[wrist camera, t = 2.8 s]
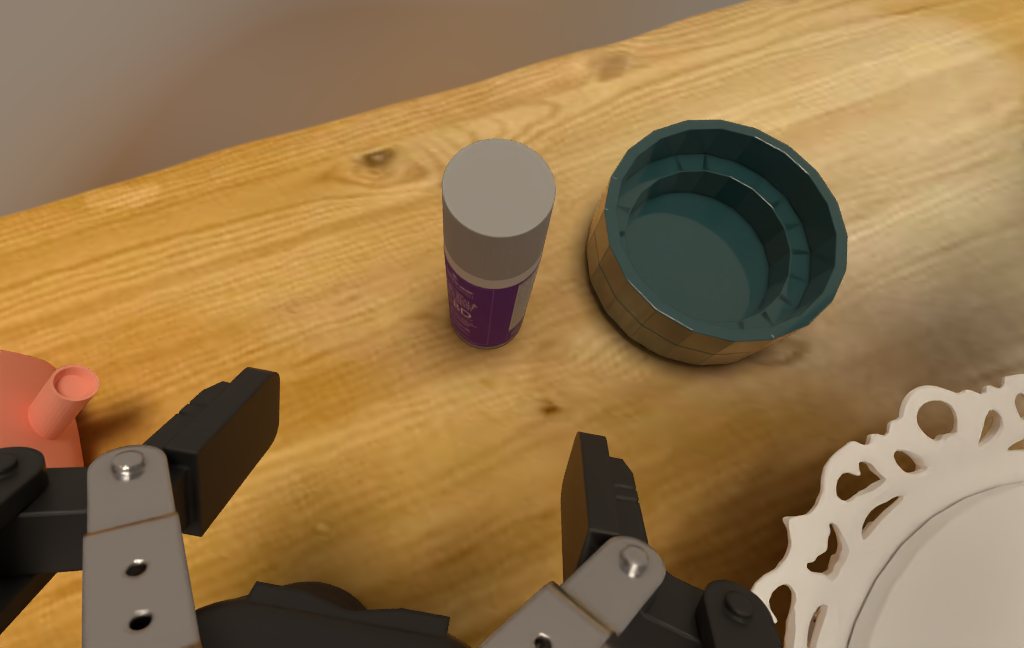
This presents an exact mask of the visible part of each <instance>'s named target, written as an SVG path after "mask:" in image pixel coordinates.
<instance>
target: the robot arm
mask: <svg viewBox="0 0 1024 648" xmlns="http://www.w3.org/2000/svg"><path fill="white" fill-rule="evenodd" d="M279 400H280V377H279V374H278V373H277V372H272V371H267V370H262V369H256V368H251V367H247V368H245V369H244V370H243V371H242V372H241V373H240V374H239V375H238V376H237V377H236V378H235V379H234V380H233V381H232V382H231V383H228V382H223V381H222V382H220V383H218V384H216V385H213V386H211V387H209V388H207V389H204V390H203V391H202V392H200V393H199V394H198V395H197V396H196V397H195V398H194V399H193V400H191V401H190V404H187V405H186V406H185V407H184V408H183V409H181V410H180V412H179V414H176V415H175V416H174V417H172V418H171V419H170V420H169V421H168V422H167V423H166V424H165V425H164V426H162V427H161V428H160V429H159V430H158V431H157V432H156V433H155V434H153V435H152V436H151V437H150V438H149V439H148V440H147V441H146V442H144V443H143V444H142V445H130V446H124V447H120V448H116V449H113V450H111V451H108V452H106V453H104V454H102V455H101V456H99V457H98V458H96V459H95V460H94V461H93V462H92V463H91V465H90V466H88V467H63V468H47V467H46V462H45V458H44V455H43V454H42V453H41V452H40V451H38V450H36V449H33V448H29V447H5V448H0V634H1V633H2V632H3V631H4V630H5V629H6V628H7V627H8V626H9V625H10V623H11V622H12V621H13V620H14V619H15V618H16V617H17V616H18V615H19V614H20V613H21V611H22V610H23V609H24V608H25V607H26V606H27V605H28V604H29V603H30V602H31V600H32V599H33V598H34V597H35V596H36V595H37V594H38V593H39V592H40V591H41V589H42V588H43V587H44V586H45V585H46V584H47V583H48V582H49V581H50V580H51V579H52V577H53V576H54V575H55V574H56V573H57V572H67V571H79V570H83V582H82V648H471V647H470V646H468V645H467V644H466V643H464V642H463V641H461V640H460V639H458V638H456V637H454V636H452V635H450V634H448V633H447V631H448V626H449V620H450V617H447V616H442V615H436V614H431V613H425V612H420V611H415V610H409V609H404V608H399V609H378V610H358V611H351V610H347V609H344V608H342V607H340V606H338V605H335V604H333V603H331V602H329V601H327V600H325V599H322V598H320V597H318V596H316V595H314V594H312V593H309V592H307V591H305V590H301V589H295V588H290V587H285V586H279V585H274V584H268V583H263V582H258V581H256V583H255V585H254V586H253V588H252V590H251V591H250V593H249V595H248V597H243V598H235V599H229V600H224V601H220V602H216V603H213V604H210V605H207V606H204V607H202V608H199V609H197V610H195V607H194V601H193V595H192V589H191V583H190V578H189V572H188V566H187V560H186V555H185V549H184V543H183V537H182V533H183V534H188V535H194V536H199V537H202V535H203V534H204V533H205V532H206V530H207V529H208V528H209V526H210V525H211V524H212V522H213V521H214V520H215V518H216V517H217V516H218V514H219V513H220V512H221V511H222V509H223V508H224V507H225V505H226V504H227V503H228V501H229V500H230V499H231V497H232V496H233V495H234V493H235V492H236V491H237V489H238V488H239V487H240V486H241V484H242V483H243V482H244V480H245V479H246V478H247V476H248V475H249V474H250V472H251V471H252V470H253V468H254V467H255V466H256V464H257V463H258V462H259V461H260V459H261V458H262V457H263V455H264V454H265V453H266V451H267V450H268V449H269V447H270V446H271V445H272V443H273V441H274V439H275V437H276V434H277V430H278V426H279ZM638 500H639V499H638V495H637V491H636V486H635V481H634V477H633V473H632V472H631V470H630V469H629V468H628V466H627V465H626V464H625V462H624V461H623V460H622V459H619V458H613V457H609V452H608V446H607V440H606V437H604V436H599V435H594V434H589V433H583V432H578V433H577V434H576V437H575V440H574V444H573V447H572V451H571V454H570V458H569V461H568V465H567V468H566V472H565V475H564V479H563V484H562V491H561V524H562V555H563V584H561V585H560V586H559V585H558V584H556V583H555V582H554V581H551V582H549V583H547V584H546V585H544V586H543V587H542V588H541V589H540V590H539V591H538V592H537V593H536V594H534V595H533V596H532V597H531V598H530V599H529V600H528V601H527V602H526V603H525V604H524V605H523V606H521V607H520V608H519V609H518V610H517V611H516V612H515V613H514V614H513V615H512V616H511V617H510V618H508V619H507V620H506V621H505V622H504V623H503V624H502V625H501V626H500V627H499V628H498V629H497V630H495V631H494V632H493V633H492V634H491V635H490V636H489V637H488V638H487V639H486V640H485V641H484V642H482V643H481V644H480V645H479V646H478V647H477V648H783V646H782V643H781V641H780V638H779V635H778V632H777V629H776V627H775V624H774V621H773V618H772V616H771V613H770V611H769V610H768V608H767V606H766V605H765V604H764V602H763V601H762V600H761V599H760V598H759V597H758V596H757V595H756V594H754V593H753V592H752V591H750V590H749V589H747V588H746V587H744V586H742V585H740V584H738V583H735V582H732V581H728V580H715V581H713V582H711V583H709V584H708V585H707V586H706V588H705V590H704V591H703V590H701V589H699V588H697V587H694V586H692V585H690V584H688V583H686V582H684V581H681V580H679V579H678V578H676V577H674V576H672V575H671V574H669V573H668V572H667V571H666V569H665V564H664V562H663V560H662V558H661V557H660V555H659V554H658V553H657V552H656V551H655V550H654V549H653V548H652V547H651V546H650V545H648V541H647V536H646V531H645V527H644V522H643V518H642V513H641V509H640V504H639V503H638Z"/></svg>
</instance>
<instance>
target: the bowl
mask: <svg viewBox="0 0 1024 648" xmlns="http://www.w3.org/2000/svg"><path fill="white" fill-rule="evenodd" d="M847 238H848V236H847V232H846V229H845V225H844V222H843V219H842V215H841V212H840V209H839V205H838V202H837V201H836V199H835V197H834V196H833V194H832V193H831V191H830V190H829V188H828V187H827V185H826V184H825V182H824V181H823V179H822V178H821V176H820V175H819V173H818V172H816V170H815V169H814V168H813V167H812V166H811V165H810V164H809V163H808V162H807V161H805V160H804V159H803V158H802V157H801V156H800V155H799V154H798V153H797V152H795V151H794V150H793V149H792V148H791V147H789V146H788V145H786V144H785V143H783V142H781V141H779V140H777V139H775V138H773V137H771V136H770V135H768V134H766V133H764V132H762V131H760V130H758V129H756V128H752V127H748V126H744V125H740V124H736V123H732V122H728V121H724V120H687V121H683V122H680V123H677V124H674V125H671V126H667V127H664V128H661V129H658V130H655V131H653V132H652V133H650V134H649V135H648V136H646V137H645V138H644V139H642V140H641V141H640V142H638V143H637V144H635V145H634V146H633V147H631V148H630V149H629V150H628V151H627V152H626V154H625V156H624V157H623V159H622V160H621V162H620V163H619V165H618V166H617V168H616V169H615V171H614V173H613V174H612V176H611V178H610V180H609V182H608V185H607V187H606V189H605V192H604V194H603V196H602V198H601V201H600V203H599V205H598V208H597V210H596V212H595V215H594V217H593V219H592V223H591V228H590V232H589V237H588V242H587V247H586V252H587V260H588V267H589V274H590V280H591V283H592V285H593V287H594V289H595V291H596V294H597V296H598V298H599V300H600V302H601V304H602V306H603V308H604V310H605V311H606V313H607V314H608V315H609V316H610V317H611V318H612V319H613V320H614V321H615V322H616V323H617V324H618V325H619V327H620V328H621V329H622V330H623V331H624V332H625V333H626V334H627V335H628V336H629V337H631V339H633V340H634V341H636V342H638V343H640V344H641V345H643V346H645V347H646V348H648V349H650V350H651V351H653V352H655V353H657V354H658V355H660V356H663V357H666V358H670V359H674V360H678V361H682V362H686V363H690V364H694V365H710V364H725V363H733V362H736V361H738V360H740V359H743V358H745V357H747V356H750V355H752V354H754V353H757V352H759V351H761V350H763V349H765V348H767V347H769V346H771V345H773V344H774V343H776V342H778V341H780V340H782V339H784V338H786V337H787V336H789V335H791V334H793V333H795V332H797V331H799V330H800V329H802V328H804V327H806V326H807V325H809V324H810V323H811V322H812V321H813V320H814V319H815V318H816V317H817V316H818V315H819V314H820V313H821V312H822V311H823V310H824V309H825V308H826V307H827V306H828V305H829V304H830V303H831V302H832V301H833V299H834V297H835V295H836V292H837V290H838V288H839V285H840V283H841V281H842V278H843V276H844V274H845V271H846V265H847Z"/></svg>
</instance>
